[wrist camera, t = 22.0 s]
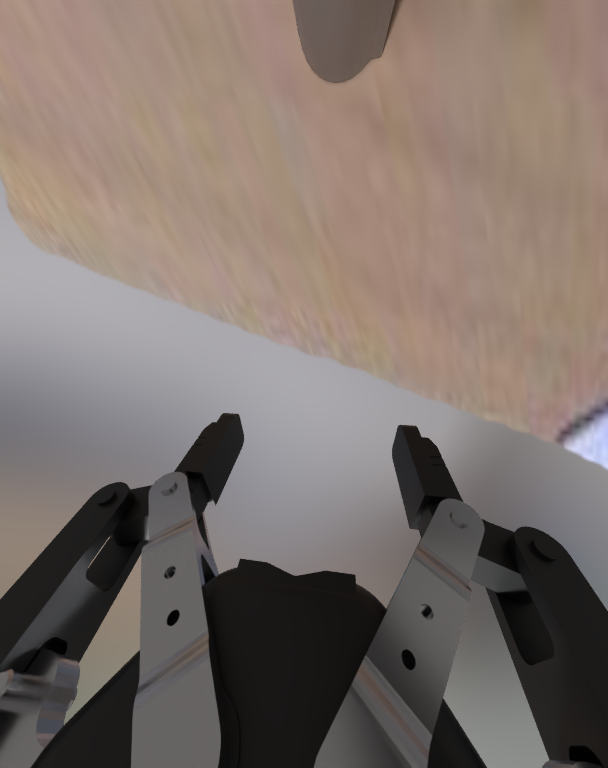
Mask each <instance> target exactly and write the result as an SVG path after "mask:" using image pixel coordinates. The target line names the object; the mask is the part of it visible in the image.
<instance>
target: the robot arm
mask: <svg viewBox="0 0 608 768" xmlns="http://www.w3.org/2000/svg"><path fill="white" fill-rule="evenodd" d="M394 3H395V0H293V5H294V11H295V16H296V23H297V27H298V33H299V37H300V41H301V45H302V49H303V52H304V55H305V57H306V60H307V62H308V63H309V65H310V67H311V68H312V70H313V71H314V72H315V73H316V74H317V75H318V76H319V77H320V78H322V79H324V80H326V81H328V82H333V83H339V82H345V81H347V80H349V79H352V78H353V77H354V76H356V75H357V74H358V73H359V72H361V70H362V69H363V68H364V67H365V66H366V65H367V63H368V62H369V61H370V60H372V59H374V58H380V57H381V56H382V52H383V48H384V44H385V40H386V36H387V32H388V28H389V24H390V19H391V15H392V11H393V7H394ZM243 443H244V434H243V429H242V425H241V420H240V417H239V414H230V413H223V414H222V415H221V416H220V418H219V420H218V421H217V423H216V422H213V423H211V424H210V425H208V426H207V427H206V428H205V429H204V430H203V431H202V432H201V434H200V436H199V437H198V439H197V440H196V441H195V443H194V445H193V446H192V447H191V448H190V450H189V451H188V453H187V454H186V456H185V457H184V459H183V460H182V461H181V463H180V464H179V466H178V467H177V469H176V470H175V471H174V472H172V473H169V474H166V475H164V476H162V477H161V478H159V479H158V480H157V481H156V482H155V483H154V484H153V485H151V486H146V487H141V488H136V489H131V490H130V488H129V487H128V485H127V484H125V483H122V482H116V483H113V484H109V485H107V486H105V487H103V488H101V489H100V490H99V491H97V492H96V493H95V494H93V495H92V497H91V498H90V499H89V500H88V501H87V502H86V503H85V504H84V505H83V507H82V508H81V509H80V510H79V511H78V512H77V513H76V514H75V516H74V517H73V518H72V519H71V520H70V521H69V522H68V524H67V525H66V526H65V527H64V528H63V529H62V530H61V532H60V533H59V534H58V535H57V536H56V537H55V538H54V539H53V541H52V542H51V543H50V544H49V545H48V546H47V547H46V548H45V550H44V551H43V552H42V553H41V554H40V555H39V556H38V557H37V559H36V560H35V561H34V562H33V563H32V564H31V566H30V567H29V568H28V569H27V570H26V571H25V572H24V573H23V574H22V576H21V577H20V578H19V579H18V580H17V581H16V582H15V584H14V585H13V586H12V587H11V588H10V589H9V590H8V591H7V593H6V594H5V595H4V596H3V597H2V598H1V599H0V768H487V767H486V765H485V764H484V762H483V761H482V759H481V758H480V756H479V754H478V753H477V751H476V749H475V748H474V746H473V745H472V743H471V742H470V740H469V738H468V737H467V735H466V734H465V732H464V730H463V729H462V727H461V726H460V724H459V723H458V721H457V720H456V718H455V716H454V715H453V713H452V711H451V710H450V708H449V707H448V705H447V704H446V702H445V700H444V699H443V695H444V692H445V689H446V685H447V681H448V678H449V674H450V671H451V667H452V664H453V660H454V656H455V653H456V649H457V645H458V642H459V638H460V635H461V631H462V628H463V624H464V621H465V617H466V613H467V610H468V606H469V603H470V598H471V589H470V588H469V583H470V580H472V581H474V582H476V583H478V584H480V585H482V586H484V587H485V588H486V590H487V593H488V595H489V598H490V601H491V604H492V606H493V609H494V612H495V615H496V617H497V620H498V623H499V625H500V628H501V631H502V633H503V636H504V639H505V641H506V644H507V647H508V649H509V652H510V655H511V658H512V660H513V663H514V666H515V668H516V671H517V674H518V676H519V679H520V682H521V684H522V687H523V690H524V693H525V695H526V698H527V700H528V703H529V706H530V709H531V711H532V714H533V717H534V719H535V722H536V724H537V727H538V730H539V732H540V736H541V738H542V741H543V743H544V746H545V749H546V752H547V754H548V757H549V761H548V762H546V763H545V764H544V765H543V766H542V768H608V611H607V610H606V608H605V607H604V605H603V604H602V602H601V601H600V599H599V598H598V596H597V595H596V593H595V592H594V590H593V589H592V587H591V586H590V584H589V583H588V581H587V580H586V579H585V577H584V576H583V574H582V573H581V571H580V570H579V568H578V567H577V565H576V564H575V562H574V561H573V559H572V558H571V556H570V555H569V554H568V552H567V551H566V550H565V549H564V547H563V546H562V545H561V544H560V543H558V542H557V541H556V540H555V539H554V538H552V537H550V536H549V535H548V534H546V533H544V532H542V531H540V530H538V529H535V528H531V527H520V528H518V529H517V530H516V531H515V532H512V531H510V530H507V529H504V528H502V527H500V526H497V525H494V524H492V523H489V522H487V521H485V520H483V519H481V517H480V516H479V515H478V513H476V511H475V510H474V509H473V508H471V507H470V506H469V505H467V504H466V503H464V502H463V500H462V499H461V497H460V494H459V492H458V490H457V488H456V486H455V484H454V482H453V479H452V478H451V475H450V473H449V471H448V469H447V467H446V465H445V463H444V461H443V459H442V457H441V454H440V452H439V450H438V448H437V446H436V445H435V444H434V443H433V442H432V441H431V440H430V439H429V438H422V437H421V435H420V432H419V430H418V428H417V427H416V426H408V425H399V426H398V428H397V432H396V436H395V440H394V444H393V448H392V458H393V463H394V467H395V471H396V475H397V478H398V482H399V487H400V491H401V495H402V499H403V503H404V506H405V511H406V515H407V519H408V523H409V527H410V529H417V530H419V532H420V535H421V540H420V542H419V544H418V546H417V548H416V550H415V552H414V554H413V556H412V558H411V560H410V562H409V564H408V566H407V568H406V570H405V572H404V574H403V576H402V578H401V580H400V582H399V585H398V586H397V588H396V590H395V592H394V594H393V596H392V598H391V600H390V603H389V604H388V607H387V608H385V607H384V606H383V605H382V604H381V602H379V600H378V599H377V598H376V597H375V596H374V595H372V594H371V593H370V592H369V591H367V590H366V589H364V588H363V587H361V586H359V585H357V584H356V578H355V575H353V574H346V573H339V572H331V571H322V572H316V573H310V574H305V575H299V576H293V575H291V574H289V573H287V572H285V571H283V570H281V569H279V568H277V567H275V566H273V565H271V564H269V563H267V562H260V561H253V560H246V559H240V561H239V564H238V567H237V568H234V569H230V570H227V571H225V572H223V573H221V574H219V573H218V570H217V566H216V563H215V560H214V558H213V554H212V549H211V545H210V540H209V535H208V530H207V526H206V521H205V516H204V513H203V512H204V510H205V508H206V506H207V505H216V504H217V502H218V499H219V497H220V495H221V493H222V491H223V488H224V486H225V484H226V482H227V480H228V477H229V475H230V473H231V471H232V468H233V466H234V464H235V462H236V460H237V458H238V455H239V453H240V451H241V449H242V446H243ZM108 537H110V538H109V540H108V541H107V542H106V544H105V545H104V543H105V541H106V540H107V539H108ZM103 545H104V547H103V548H102V550H101V551H100V552H99V550H100V549H101V547H102V546H103ZM98 552H99V554H98V555H97V557H96V558H95V559H94V557H95V556H96V554H97V553H98ZM141 553H142V560H141V561H142V562H141V621H140V650H139V651H138V652H137V653H136V654H135V655H134V656H133V657H132V658H131V659H130V660H129V661H128V662H127V663H126V664H125V665H124V666H123V667H122V668H121V669H120V670H119V671H118V672H117V673H116V674H115V675H114V676H113V677H112V678H111V679H110V680H109V681H108V682H107V683H106V684H105V685H104V686H103V687H102V688H101V689H100V690H99V691H98V692H97V693H96V694H95V695H94V696H93V697H92V698H91V699H90V700H89V701H88V702H87V703H86V704H85V705H84V706H83V707H82V708H81V709H80V710H79V711H78V712H77V713H76V714H75V715H74V716H73V717H72V718H71V719H70V720H69V721H68V722H67V723H66V724H65V725H64V719H65V715H66V711H67V710H68V709H69V708H70V707H71V705H72V704H73V702H74V700H75V697H76V695H77V684H78V680H79V675H80V668H79V662H80V660H81V659H82V657H83V655H84V653H85V651H86V650H87V648H88V646H89V644H90V643H91V641H92V639H93V637H94V636H95V634H96V632H97V630H98V629H99V627H100V625H101V623H102V621H103V620H104V618H105V616H106V615H107V612H108V611H109V609H110V607H111V605H112V604H113V602H114V600H115V599H116V597H117V595H118V593H119V592H120V590H121V588H122V586H123V584H124V583H125V581H126V579H127V578H128V576H129V574H130V572H131V570H132V569H133V567H134V565H135V563H136V562H137V560H138V558H139V556H140V555H141ZM93 559H94V561H93V562H92V564H91V565H90V563H91V561H92V560H93ZM89 565H90V567H89ZM88 567H89V568H88Z"/></svg>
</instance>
